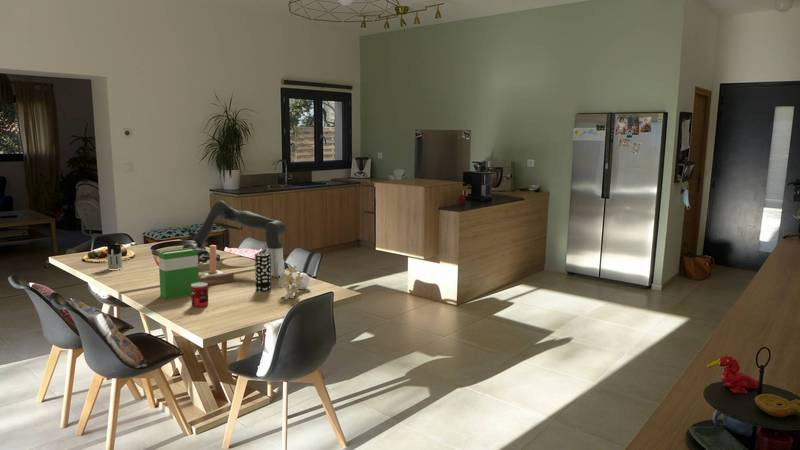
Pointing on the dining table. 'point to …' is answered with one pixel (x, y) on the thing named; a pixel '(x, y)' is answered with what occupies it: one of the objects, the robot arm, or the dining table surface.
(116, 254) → the black capped bottle
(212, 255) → the terracotta dowel
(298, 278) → the flower vase
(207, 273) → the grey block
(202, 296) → the canned food
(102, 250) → the wooden plate with food
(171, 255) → the green box
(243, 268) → the dining table surface
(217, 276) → the walnut track
